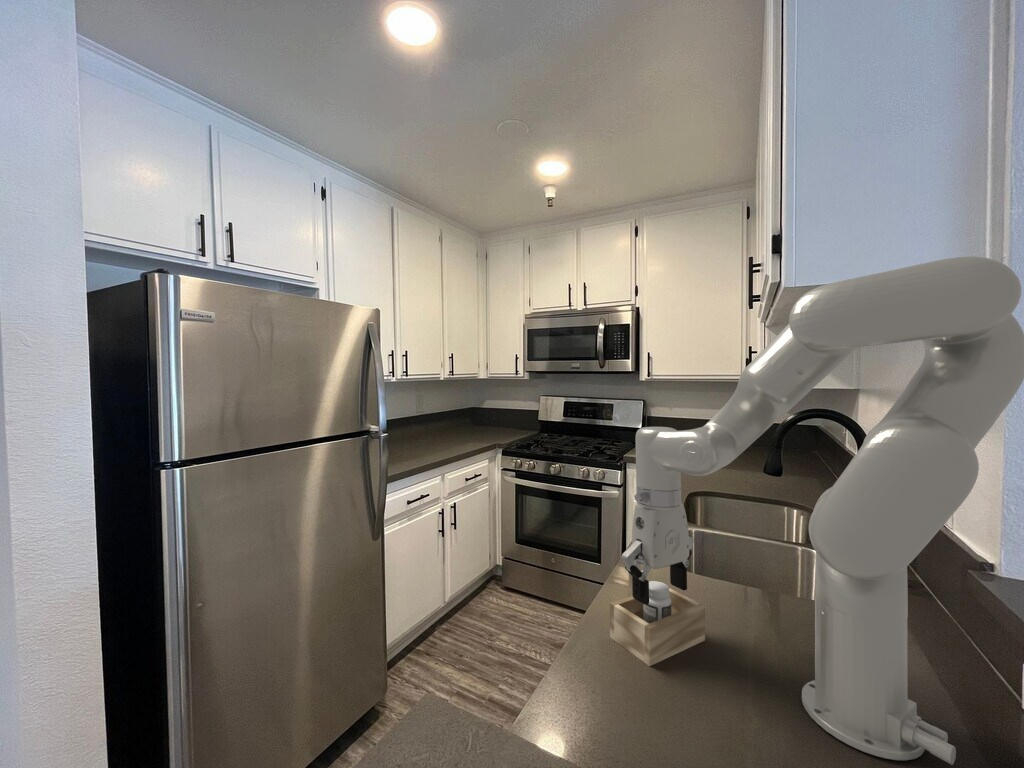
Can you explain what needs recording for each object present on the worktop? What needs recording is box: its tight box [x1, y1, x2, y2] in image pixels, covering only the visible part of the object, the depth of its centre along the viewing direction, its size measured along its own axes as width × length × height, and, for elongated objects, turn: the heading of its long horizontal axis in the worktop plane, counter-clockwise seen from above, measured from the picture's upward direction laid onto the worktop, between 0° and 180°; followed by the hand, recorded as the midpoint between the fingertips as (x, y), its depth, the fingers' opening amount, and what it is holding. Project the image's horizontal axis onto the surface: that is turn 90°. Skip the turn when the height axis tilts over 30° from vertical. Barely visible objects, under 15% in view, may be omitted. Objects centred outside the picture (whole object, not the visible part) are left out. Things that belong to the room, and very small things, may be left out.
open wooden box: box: [609, 587, 706, 667], centre depth 74 cm, size 9×14×6 cm, turn 120°
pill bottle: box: [643, 580, 671, 624], centre depth 74 cm, size 5×5×8 cm
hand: (660, 593), depth 74 cm, fingers open, 9 cm apart
